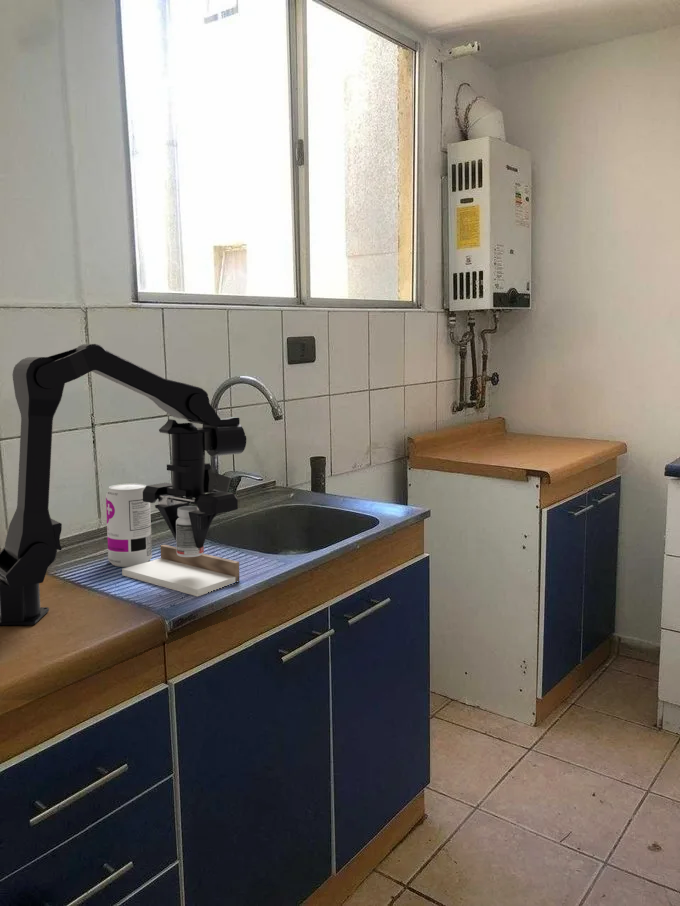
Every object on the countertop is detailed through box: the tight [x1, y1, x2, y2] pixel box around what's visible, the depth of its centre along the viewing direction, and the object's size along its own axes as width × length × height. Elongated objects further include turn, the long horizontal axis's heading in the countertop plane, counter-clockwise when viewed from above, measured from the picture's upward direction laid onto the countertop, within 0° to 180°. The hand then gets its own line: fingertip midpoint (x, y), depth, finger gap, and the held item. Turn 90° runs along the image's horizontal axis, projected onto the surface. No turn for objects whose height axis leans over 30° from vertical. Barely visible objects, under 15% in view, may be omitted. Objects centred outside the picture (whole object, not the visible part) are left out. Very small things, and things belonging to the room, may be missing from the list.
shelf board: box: [121, 544, 240, 597], centre depth 131 cm, size 20×10×4 cm, turn 54°
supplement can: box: [105, 482, 153, 568], centre depth 141 cm, size 8×8×15 cm
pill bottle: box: [175, 505, 205, 557], centre depth 129 cm, size 5×5×8 cm
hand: (189, 545), depth 129 cm, fingers closed on pill bottle, 5 cm apart
